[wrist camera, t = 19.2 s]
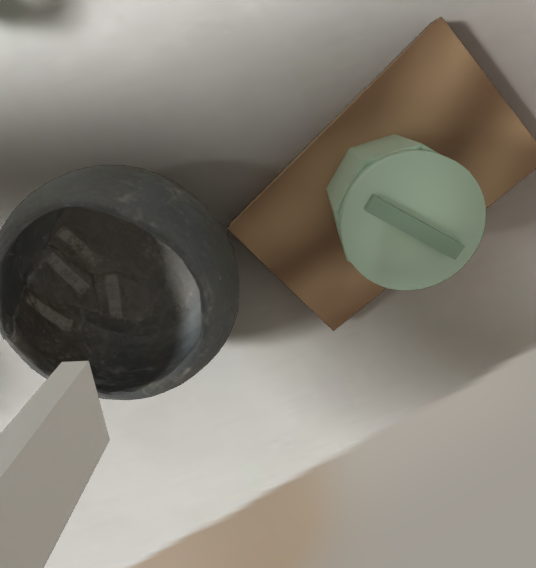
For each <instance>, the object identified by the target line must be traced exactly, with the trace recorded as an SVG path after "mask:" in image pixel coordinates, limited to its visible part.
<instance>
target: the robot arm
mask: <svg viewBox="0 0 536 568" xmlns="http://www.w3.org/2000/svg"><path fill="white" fill-rule="evenodd" d="M109 440H110V439H109V435H108V431H107V428H106V424H105V420H104V416H103V413H102V409H101V405H100V401H99V398H98V394H97V390H96V386H95V382H94V379H93V375H92V371H91V367H90V364H89V361H72V362H61V363H60V365H59V366H58V367H57V368H56V369H55V371H54V372H53V373H52V374H51V375H50V376H49V378H48V379H47V380H46V381H45V382H44V383H43V385H42V386H41V387H40V388H39V389H38V390H37V392H36V393H35V394H34V395H33V396H32V397H31V399H30V400H29V401H28V402H27V403H26V405H25V406H24V407H23V408H22V409H21V410H20V412H19V413H18V414H17V415H16V416H15V417H14V419H13V420H12V421H11V422H10V423H9V424H8V426H7V427H6V428H5V429H4V430H3V431H2V433H1V434H0V568H44V566H45V564H46V562H47V560H48V558H49V556H50V554H51V553H52V551H53V549H54V547H55V545H56V543H57V541H58V539H59V537H60V535H61V533H62V531H63V529H64V527H65V525H66V524H67V522H68V520H69V518H70V516H71V514H72V512H73V510H74V508H75V506H76V504H77V502H78V500H79V498H80V496H81V495H82V493H83V491H84V489H85V487H86V485H87V483H88V481H89V479H90V477H91V475H92V473H93V471H94V469H95V467H96V465H97V464H98V462H99V460H100V458H101V456H102V454H103V452H104V450H105V448H106V446H107V444H108V442H109Z"/></svg>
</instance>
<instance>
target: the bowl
mask: <svg viewBox="0 0 536 568" xmlns="http://www.w3.org/2000/svg"><path fill="white" fill-rule="evenodd" d="M238 299H239V277H238V268H237V262H236V258H235V255H234V251H233V249H232V246H231V244H230V241H229V239H228V237H227V235H226V233H225V231H224V230H223V228H222V227H221V225H220V224H219V222H218V221H217V220H216V218H215V217H214V216H213V215H212V214H211V212H210V211H209V210H208V209H207V208H206V207H205V206H204V205H203V204H202V203H201V202H200V201H199V200H198V199H196V198H195V197H194V196H192V195H191V194H190V193H189V192H187V191H186V190H185V189H183V188H182V187H180V186H179V185H177V184H176V183H174V182H172V181H170V180H169V179H167V178H165V177H163V176H161V175H158V174H156V173H153V172H150V171H147V170H144V169H141V168H136V167H131V166H124V165H102V166H92V167H88V168H83V169H79V170H76V171H73V172H70V173H67V174H65V175H63V176H60V177H58V178H56V179H54V180H52V181H50V182H48V183H46V184H44V185H43V186H41V187H40V188H38V189H37V190H35V191H34V192H33V193H31V194H30V195H29V196H28V197H27V198H26V199H25V200H24V201H23V202H22V203H21V204H20V205H19V206H18V207H17V208H16V209H15V210H14V211H13V212H12V213H11V215H10V216H9V217H8V219H7V221H6V222H5V224H4V226H3V227H2V229H1V231H0V333H1V335H2V337H3V339H5V340H6V341H7V342H8V343H9V345H10V346H11V347H12V348H13V349H14V350H15V352H16V353H17V354H18V355H19V356H20V357H21V358H22V360H23V361H25V362H26V363H27V364H28V365H29V366H30V367H31V368H32V369H33V370H35V371H36V372H37V373H39V374H40V375H41V376H43V377H45V378H46V379H48V378H49V376H50V375H51V374H52V373H53V372H54V371H55V369H56V368H57V367H58V366H59V365H60V363H61V362H72V361H89V364H90V367H91V371H92V375H93V379H94V382H95V386H96V390H97V394H98V398H102V399H113V400H133V399H142V398H147V397H152V396H155V395H158V394H161V393H163V392H166V391H168V390H170V389H173V388H175V387H177V386H179V385H181V384H182V383H184V382H185V381H187V380H188V379H190V378H191V377H193V376H194V375H195V374H196V373H198V372H199V371H200V370H201V369H202V368H203V367H205V366H206V365H207V364H208V363H209V362H210V361H211V360H212V359H213V358H214V357H215V355H216V354H217V353H218V352H219V351H220V349H221V348H222V346H223V345H224V343H225V342H226V340H227V338H228V336H229V334H230V332H231V330H232V327H233V325H234V322H235V318H236V315H237V311H238Z"/></svg>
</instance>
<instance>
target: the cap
mask: <svg viewBox="0 0 536 568" xmlns="http://www.w3.org/2000/svg"><path fill="white" fill-rule="evenodd" d="M326 190H327V194H328V197H329V201H330V205H331V209H332V212H333V216H334V220H335V224H336V228H337V231H338V234H339V237H340V240H341V243H342V247H343V250H344V253H345V256H346V259H347V261H349V262H350V263H352V264H353V265H354V267H355V268H356V269H357V270H358V271H359V272H360V273H361V274H362V275H363V276H364V277H366V278H367V279H369V280H370V281H372V282H373V283H376V284H378V285H380V286H383V287H386V288H389V289H395V290H417V289H423V288H427V287H430V286H433V285H436V284H438V283H440V282H442V281H444V280H446V279H448V278H449V277H451V276H452V275H454V274H455V273H456V272H458V271H459V270H460V269H461V268H462V267H463V266H464V265H465V264H466V263H467V262H468V260H469V259H470V258H471V257H472V255H473V254H474V252H475V251H476V249H477V247H478V245H479V243H480V241H481V238H482V235H483V232H484V228H485V222H486V206H485V201H484V196H483V194H482V191H481V188H480V186H479V185H478V183H477V181H476V180H475V178H474V177H473V176H472V174H471V173H470V171H468V170H467V169H466V168H465V167H463V166H462V165H460V164H459V163H458V162H456V161H454V160H452V159H450V158H448V157H445V156H443V155H441V154H439V153H437V152H435V151H434V150H432V149H430V148H429V147H427V146H425V145H423V144H422V143H419V142H416V141H413V140H410V139H408V138H405V137H402V136H399V135H396V134H393V135H390V136H386V137H383V138H380V139H377V140H374V141H370V142H367V143H364V144H361V145H358V146H354V147H351V148H349V149H348V151H347V153H346V155H345V156H344V158H343V160H342V162H341V163H340V165H339V167H338V169H337V170H336V172H335V174H334V175H333V177H332V179H331V181H330V182H329V184H328V186H327V188H326Z"/></svg>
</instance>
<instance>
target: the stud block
mask: <svg viewBox="0 0 536 568" xmlns="http://www.w3.org/2000/svg"><path fill="white" fill-rule="evenodd" d="M393 134H396V135H399V136H402V137H405V138H408V139H410V140H413V141H416V142H419V143H422V144H423V145H425V146H427V147H429V148H430V149H432V150H434V151H435V152H437V153H439V154H441V155H443V156H445V157H448V158H450V159H452V160H454V161H456V162H458V163H459V164H460V165H462V166H463V167H465V168H466V169H467V170H468V171H470V173H471V174H472V176H473V177H474V178H475V180H476V181H477V183H478V185H479V186H480V188H481V191H482V194H483V196H484V201H485V206H486V208H487V207H488V206H490V205H491V204H492V203H493V202H495V201H496V200H497V199H498V198H500V197H501V196H502V195H503V194H505V193H506V192H507V191H508V190H510V189H511V188H512V187H513V186H515V185H516V184H517V183H518V182H520V181H521V180H522V179H523V178H525V177H526V176H527V175H528V174H530V173H531V172H532V171H533V170H535V169H536V141H535V140H534V138H533V137H532V136H531V134H530V133H529V132H528V130H527V129H526V128H525V126H524V125H523V124H522V122H521V121H520V120H519V118H518V117H517V116H516V114H515V113H514V112H513V110H512V109H511V108H510V106H509V105H508V104H507V103H506V101H505V100H504V99H503V97H502V96H501V95H500V93H499V92H498V91H497V89H496V88H495V87H494V85H493V84H492V83H491V81H490V80H489V79H488V77H487V76H486V75H485V73H484V72H483V71H482V69H481V68H480V67H479V65H478V64H477V63H476V62H475V60H474V59H473V58H472V56H471V55H470V54H469V52H468V51H467V50H466V48H465V47H464V46H463V44H462V43H461V42H460V40H459V39H458V38H457V36H456V35H455V34H454V32H453V31H452V30H451V28H450V27H449V26H448V24H447V23H446V22H445V21H444V19H443V18H442V17H440V18H438V19H436V20H435V21H433V22H431V23H430V24H429V25H428V26H427V27H426V28H425V29H424V30H423V31H422V32H421V33H420V34H419V35H418V36H417V37H416V38H415V39H414V40H413V41H412V42H411V43H410V44H409V45H408V46H407V47H406V48H405V49H404V50H403V51H402V52H401V53H400V54H399V55H398V56H397V57H396V58H395V59H394V60H393V61H392V62H391V63H390V64H389V65H388V66H387V67H386V68H385V69H384V70H383V71H382V72H381V73H380V74H379V75H378V76H377V77H376V78H375V79H374V80H373V81H372V82H371V83H370V84H369V85H368V86H367V87H366V88H365V89H364V90H363V91H362V92H361V93H360V94H359V95H358V96H357V97H356V98H355V99H354V100H353V101H352V102H351V103H350V104H349V105H348V106H347V107H346V108H345V109H344V110H343V111H342V112H341V113H340V114H339V115H338V116H337V117H336V118H335V119H334V120H333V121H332V122H331V123H330V124H329V125H328V126H327V127H326V128H325V129H324V130H323V131H322V132H321V133H320V134H319V135H318V136H317V137H316V138H315V139H314V140H313V141H312V142H311V143H310V144H309V145H308V146H307V147H306V148H305V149H304V150H303V151H302V152H301V153H300V154H299V155H298V156H297V157H296V158H295V159H294V160H293V161H292V162H291V163H290V164H289V165H288V166H287V167H286V168H285V169H284V170H283V171H282V172H281V173H280V174H279V175H278V176H277V177H276V178H275V179H274V180H273V181H272V182H271V183H270V184H269V185H268V186H267V187H266V188H265V189H264V190H263V191H262V192H261V193H260V194H259V195H258V196H257V197H256V198H255V199H254V200H253V201H252V202H251V203H250V204H249V205H248V206H247V207H246V208H245V209H244V210H243V211H242V212H241V213H239V214H238V215H237V216H236V217H235V218H234V219H233V220H232V221H231V223H230V225H229V227H228V230H229V231H230V232H231V233H232V234H233V235H234V236H235V237H236V238H237V239H238V240H240V241H241V242H242V243H243V244H244V245H245V246H246V247H247V248H248V249H249V250H250V251H251V252H252V253H253V254H254V255H255V256H256V257H257V258H258V259H259V260H260V261H261V262H262V263H263V264H264V265H265V266H267V267H268V268H269V269H270V270H271V271H272V272H273V273H274V274H275V275H276V276H277V277H278V278H279V279H280V280H281V281H282V282H283V283H284V284H285V285H286V286H287V287H288V288H289V289H290V290H291V291H292V292H294V293H295V294H296V295H297V296H298V297H299V298H300V299H301V300H302V301H303V302H304V303H305V304H306V305H307V306H308V307H309V308H310V309H311V310H312V311H313V312H314V313H315V314H316V315H317V316H318V317H319V318H321V319H322V320H323V321H324V322H325V323H326V324H327V325H328V326H329V327H330V328H331V329H332V330H333V331H334V330H335V329H336V328H338V327H339V326H340V325H341V324H343V323H344V322H345V321H346V320H348V319H349V318H350V317H351V316H353V315H354V314H355V313H356V312H358V311H359V310H360V309H361V308H363V307H364V306H365V305H366V304H368V303H369V302H370V301H371V300H373V299H374V298H375V297H376V296H378V295H379V294H380V293H381V292H383V291H384V290H385V289H386V287H383V286H380V285H378V284H376V283H373V282H372V281H370V280H369V279H367V278H366V277H364V276H363V275H362V274H361V273H360V272H359V271H358V270H357V269H356V268H355V267H354V265H353V264H352V263H350V262H349V261H347V259H346V256H345V253H344V250H343V247H342V243H341V240H340V237H339V234H338V231H337V228H336V224H335V220H334V216H333V212H332V209H331V205H330V201H329V197H328V194H327V190H326V188H327V186H328V184H329V182H330V181H331V179H332V177H333V175H334V174H335V172H336V170H337V169H338V167H339V165H340V163H341V162H342V160H343V158H344V156H345V155H346V153H347V151H348V149H349V148H351V147H354V146H358V145H361V144H364V143H367V142H370V141H374V140H377V139H380V138H383V137H386V136H390V135H393Z"/></svg>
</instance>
